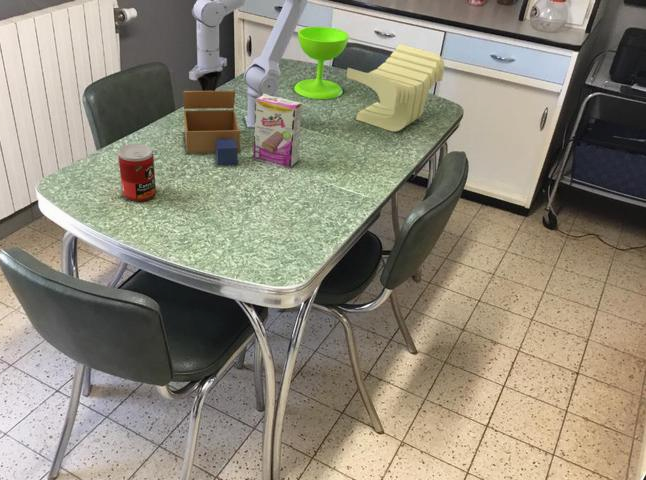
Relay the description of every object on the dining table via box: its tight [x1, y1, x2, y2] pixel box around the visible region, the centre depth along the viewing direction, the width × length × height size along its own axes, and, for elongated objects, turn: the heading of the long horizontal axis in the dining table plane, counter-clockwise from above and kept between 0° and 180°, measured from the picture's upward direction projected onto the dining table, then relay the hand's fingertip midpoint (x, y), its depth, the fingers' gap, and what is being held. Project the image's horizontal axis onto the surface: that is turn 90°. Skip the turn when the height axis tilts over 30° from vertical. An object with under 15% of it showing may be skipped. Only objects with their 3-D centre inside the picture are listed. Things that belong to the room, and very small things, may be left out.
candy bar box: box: [253, 94, 303, 168], centre depth 164 cm, size 11×5×16 cm, turn 65°
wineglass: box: [293, 26, 350, 100], centre depth 205 cm, size 16×16×18 cm
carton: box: [183, 109, 241, 154], centre depth 173 cm, size 14×14×6 cm
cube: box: [215, 140, 238, 166], centre depth 165 cm, size 5×5×5 cm
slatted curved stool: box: [346, 43, 445, 133], centre depth 188 cm, size 30×16×18 cm, turn 144°
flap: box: [183, 89, 236, 110], centre depth 173 cm, size 7×14×1 cm
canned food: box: [117, 143, 157, 202], centre depth 148 cm, size 8×8×11 cm
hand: (208, 98), depth 174 cm, fingers closed
